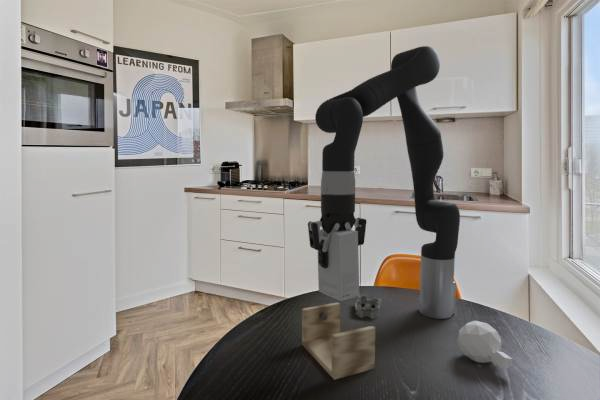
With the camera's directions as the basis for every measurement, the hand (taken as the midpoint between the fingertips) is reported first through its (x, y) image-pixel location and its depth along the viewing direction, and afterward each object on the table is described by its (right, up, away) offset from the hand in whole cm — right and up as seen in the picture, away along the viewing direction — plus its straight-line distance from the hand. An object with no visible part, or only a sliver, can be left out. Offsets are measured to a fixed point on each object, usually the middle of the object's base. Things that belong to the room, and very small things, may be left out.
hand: (337, 265), depth 83 cm
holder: (0, -21, +2) cm, 21 cm away
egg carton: (+12, -19, +28) cm, 36 cm away
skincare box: (0, -7, +1) cm, 7 cm away
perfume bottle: (+32, -22, -1) cm, 39 cm away
